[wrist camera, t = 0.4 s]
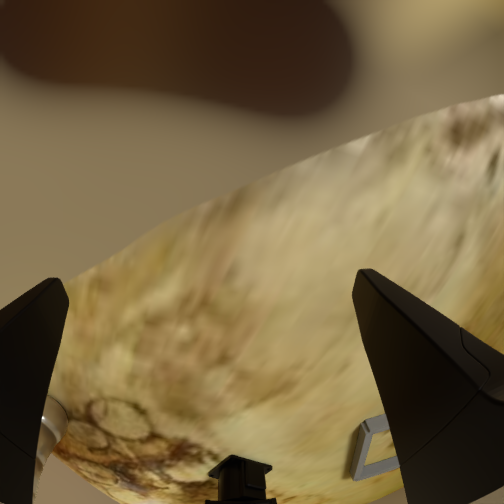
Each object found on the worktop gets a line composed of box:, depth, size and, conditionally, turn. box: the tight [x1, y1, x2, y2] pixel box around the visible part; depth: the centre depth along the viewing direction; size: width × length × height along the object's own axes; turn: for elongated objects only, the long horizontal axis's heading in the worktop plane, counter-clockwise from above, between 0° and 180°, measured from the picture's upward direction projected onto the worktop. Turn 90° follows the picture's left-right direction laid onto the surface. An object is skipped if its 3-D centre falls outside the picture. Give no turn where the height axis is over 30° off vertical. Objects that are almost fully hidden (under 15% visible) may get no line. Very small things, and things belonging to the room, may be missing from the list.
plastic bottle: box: [33, 395, 68, 503], centre depth 19 cm, size 6×7×20 cm
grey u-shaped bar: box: [350, 414, 400, 481], centre depth 32 cm, size 10×14×2 cm
